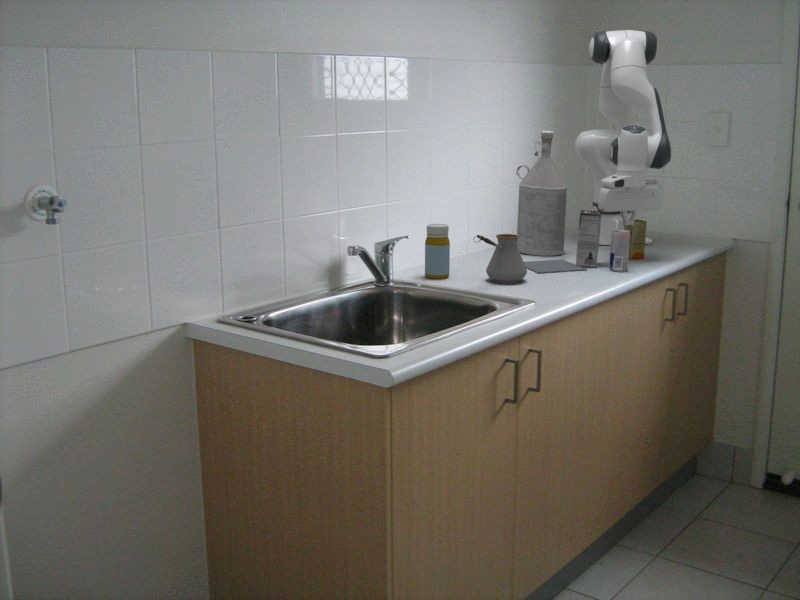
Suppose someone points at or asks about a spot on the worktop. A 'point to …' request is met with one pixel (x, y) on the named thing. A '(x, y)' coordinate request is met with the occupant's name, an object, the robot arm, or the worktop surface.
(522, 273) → the coffee pot
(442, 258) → the bottle
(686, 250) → the worktop surface
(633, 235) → the shoe polish box
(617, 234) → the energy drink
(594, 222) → the coffee box
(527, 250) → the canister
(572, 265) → the mat
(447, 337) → the worktop surface
